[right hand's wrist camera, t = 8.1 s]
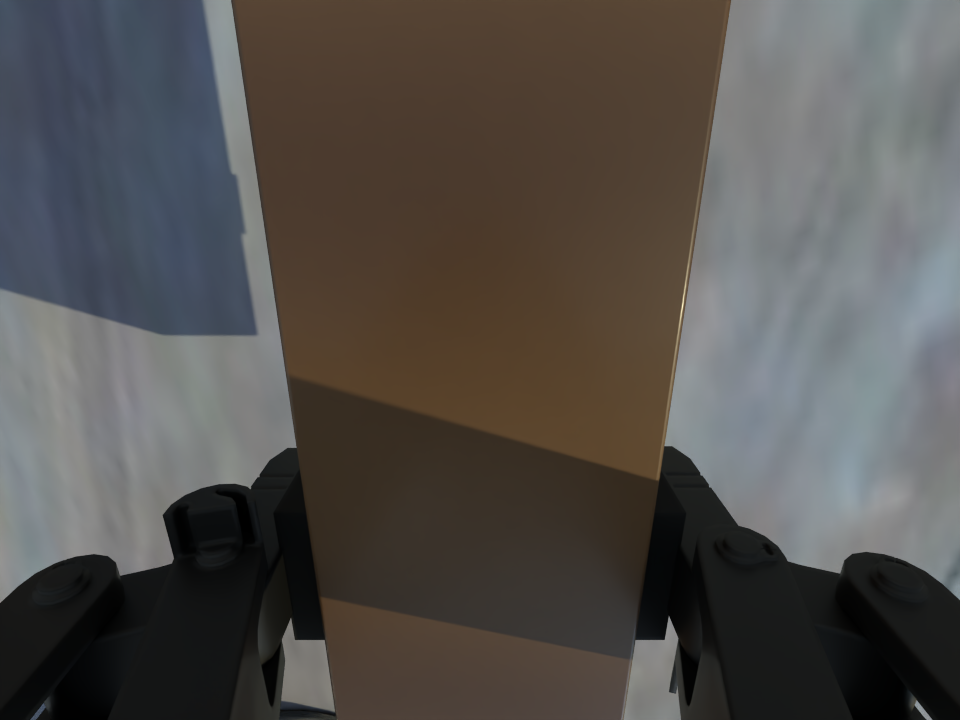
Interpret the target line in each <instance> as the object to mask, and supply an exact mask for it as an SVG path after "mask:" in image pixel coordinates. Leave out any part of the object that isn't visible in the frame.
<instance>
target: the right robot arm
mask: <svg viewBox="0 0 960 720" xmlns="http://www.w3.org/2000/svg"><path fill="white" fill-rule="evenodd" d="M163 518H164V522H165V526H166V529H167V533H168V537H169V541H170V544H171V548H172V552H173V556H174V560H173V562H172V564H169V565H166V566H162V567H158V568H154V569H149V570H145V571H140V572H136V573H131V574H127V575H122V576H120V574H119V571H118V568H117V565H116V562H114V561H113V560H112V559H111V558H109V557H108V556H103V555H96V554H92V555H85V556H77V557H73V558H70V559H67V560H63V561H60V562H58V563H55V564H53V565H51V566H49V567H47V568H45V569H43V570H41V571H40V572H38V573H36V574H34V575H33V576H31V577H30V578H29V579H27V580H26V581H25V582H23V583H22V584H21V585H19V586H18V587H17V588H16V589H15V590H14V591H13V592H12V593H11V594H10V595H8V596H7V597H6V598H5V599H4V600H3V601H2V602H1V603H0V720H30V719H31V718H32V717H33V715H34V714H35V713H36V712H37V710H38V709H39V708H40V707H41V705H42V704H43V703H44V704H45V706H46V708H45V709H44V711H43V712H42V713H41V714H40V716H39V717H38V718H37V719H36V720H336V716H332V715H327V714H322V713H316V712H307V711H282V712H280V705H281V695H282V686H283V676H284V666H285V657H284V650H283V644H282V638H283V635H284V633H285V630H286V628H287V626H288V623H289V621H290V618H291V619H292V625H293V631H294V636H295V640H325V638H324V631H323V624H322V617H321V610H320V603H319V597H318V590H317V583H316V576H315V569H314V562H313V555H312V549H311V542H310V535H309V528H308V521H307V514H306V508H305V501H304V494H303V487H302V480H301V473H300V467H299V460H298V453H297V448H287V449H286V450H284V451H283V452H281V453H280V454H278V455H277V456H275V457H274V458H272V459H271V460H270V461H269V462H268V464H267V465H266V466H265V468H264V469H263V471H262V472H261V473H260V477H258V478H257V479H256V480H255V482H254V483H253V485H252V486H251V489H249V488H248V487H246V486H242V485H238V484H218V485H214V486H210V487H205V488H201V489H199V490H196V491H194V492H192V493H189V494H187V495H185V496H183V497H182V498H180V499H179V500H177V501H176V502H174V503H173V504H172V505H171V506H170V507H169V508H168V509H167V511H166V512H165V513H164V514H163ZM668 617H670V619H671V621H672V624H673V626H674V629H675V631H676V633H677V636H678V638H679V639H678V644H677V650H676V655H675V660H674V666H673V671H672V677H671V682H670V689H669V692H671V693H675V694H676V690H677V685H678V694H679V704H680V713H681V720H926V719H925V718H924V717H923V716H922V714H921V713H920V712H919V710H918V709H917V708H916V707H915V703H916V700H917V701H918V702H919V703H920V705H921V706H922V707H923V708H924V710H925V711H926V712H927V713H928V715H929V716H930V717H931V718H932V720H960V600H959V599H958V598H957V597H956V596H955V595H954V594H953V593H951V592H950V591H949V590H948V589H947V588H946V587H945V586H944V585H943V584H942V583H940V582H939V581H937V580H936V579H935V578H933V577H932V576H931V575H929V574H928V573H927V572H925V571H924V570H922V569H920V568H918V567H916V566H914V565H912V564H910V563H908V562H906V561H904V560H901V559H898V558H894V557H892V556H888V555H885V554H878V553H870V552H863V553H856V554H852V555H850V556H849V557H848V558H847V559H846V560H844V564H843V567H842V570H841V573H840V574H839V573H834V572H830V571H825V570H821V569H816V568H811V567H807V566H802V565H798V564H795V563H791V562H788V561H787V559H786V557H785V556H784V554H783V553H782V551H781V550H780V549H779V547H778V546H777V545H776V544H774V543H773V542H772V541H770V540H769V539H768V538H767V537H765V536H763V535H761V534H759V533H757V532H755V531H753V530H751V529H748V528H745V527H741V526H738V525H737V523H736V522H735V520H734V519H733V518H732V516H731V515H730V513H729V512H728V511H727V509H726V508H725V507H724V505H723V504H722V502H721V501H720V500H719V498H718V497H717V495H716V494H715V493H714V491H713V490H712V488H709V484H708V483H707V481H706V480H705V479H704V477H703V476H701V475H700V472H699V470H698V469H697V468H696V466H695V465H694V463H693V462H692V461H691V459H690V458H688V457H687V456H686V455H684V454H683V453H681V452H680V451H678V450H677V449H675V448H674V447H672V446H664V452H663V458H662V465H661V472H660V478H659V485H658V492H657V498H656V505H655V512H654V518H653V525H652V532H651V539H650V545H649V552H648V559H647V565H646V572H645V579H644V585H643V592H642V599H641V605H640V612H639V619H638V625H637V632H636V639H635V640H665V635H666V629H667V623H668Z"/></svg>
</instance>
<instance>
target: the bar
mask: <svg viewBox="0 0 960 720" xmlns="http://www.w3.org/2000/svg"><path fill="white" fill-rule="evenodd" d="M231 1H232V8H233V15H234V22H235V29H236V35H237V42H238V49H239V56H240V63H241V70H242V77H243V83H244V90H245V97H246V104H247V111H248V118H249V124H250V131H251V138H252V145H253V152H254V159H255V165H256V172H257V179H258V186H259V193H260V200H261V207H262V213H263V220H264V227H265V234H266V241H267V248H268V254H269V261H270V268H271V275H272V282H273V289H274V295H275V302H276V309H277V316H278V323H279V330H280V337H281V343H282V350H283V357H284V364H285V371H286V378H287V384H288V391H289V398H290V405H291V412H292V419H293V425H294V432H295V439H296V446H297V453H298V460H299V467H300V473H301V480H302V487H303V494H304V501H305V508H306V514H307V521H308V528H309V535H310V542H311V549H312V555H313V562H314V569H315V576H316V583H317V590H318V597H319V603H320V610H321V617H322V624H323V631H324V638H325V644H326V651H327V658H328V665H329V672H330V679H331V685H332V692H333V699H334V706H335V713H336V720H623V719H624V712H625V706H626V699H627V692H628V686H629V679H630V672H631V666H632V659H633V652H634V646H635V639H636V632H637V625H638V619H639V612H640V605H641V599H642V592H643V585H644V579H645V572H646V565H647V559H648V552H649V545H650V539H651V532H652V525H653V518H654V512H655V505H656V498H657V492H658V485H659V478H660V472H661V465H662V458H663V452H664V445H665V438H666V432H667V425H668V418H669V411H670V405H671V398H672V391H673V385H674V378H675V371H676V365H677V358H678V351H679V345H680V338H681V331H682V324H683V318H684V311H685V304H686V298H687V291H688V284H689V278H690V271H691V264H692V258H693V251H694V244H695V238H696V231H697V224H698V217H699V211H700V204H701V197H702V191H703V184H704V177H705V171H706V164H707V157H708V151H709V144H710V137H711V131H712V124H713V117H714V110H715V104H716V97H717V90H718V84H719V77H720V70H721V64H722V57H723V50H724V44H725V37H726V30H727V24H728V17H729V10H730V3H731V0H231Z"/></svg>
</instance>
